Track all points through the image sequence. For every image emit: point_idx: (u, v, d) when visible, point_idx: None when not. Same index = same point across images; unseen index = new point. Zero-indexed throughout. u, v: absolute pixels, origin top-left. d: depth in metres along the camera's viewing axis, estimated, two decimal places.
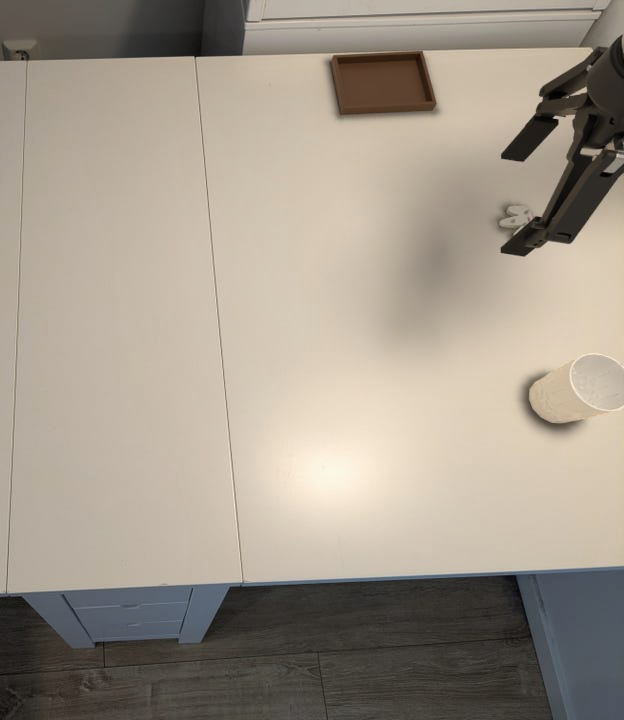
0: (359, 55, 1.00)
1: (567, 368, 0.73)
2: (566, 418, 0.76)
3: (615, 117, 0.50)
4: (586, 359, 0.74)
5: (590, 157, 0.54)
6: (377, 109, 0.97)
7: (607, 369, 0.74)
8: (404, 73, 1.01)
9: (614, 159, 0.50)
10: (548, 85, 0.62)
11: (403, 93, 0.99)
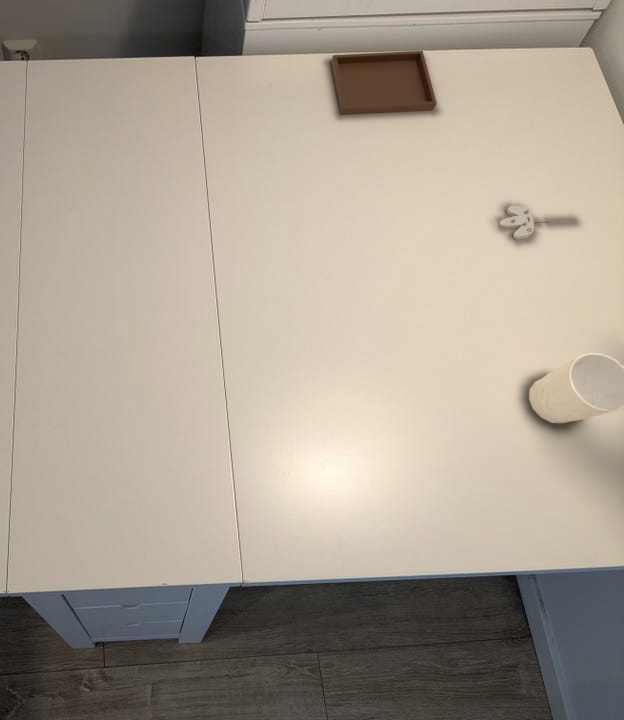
0: (359, 55, 1.00)
1: (567, 368, 0.73)
2: (566, 418, 0.76)
3: None
4: (586, 359, 0.74)
5: None
6: (377, 109, 0.97)
7: (608, 369, 0.74)
8: (404, 73, 1.01)
9: None
10: None
11: (403, 93, 0.99)
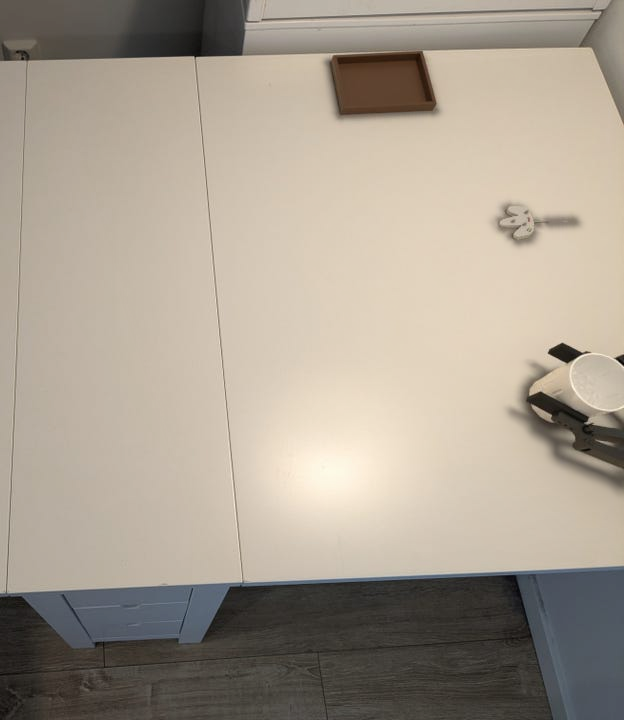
0: (359, 55, 1.00)
1: (567, 368, 0.73)
2: None
3: None
4: (586, 359, 0.74)
5: None
6: (377, 109, 0.97)
7: (608, 369, 0.74)
8: (404, 73, 1.01)
9: None
10: None
11: (403, 93, 0.99)
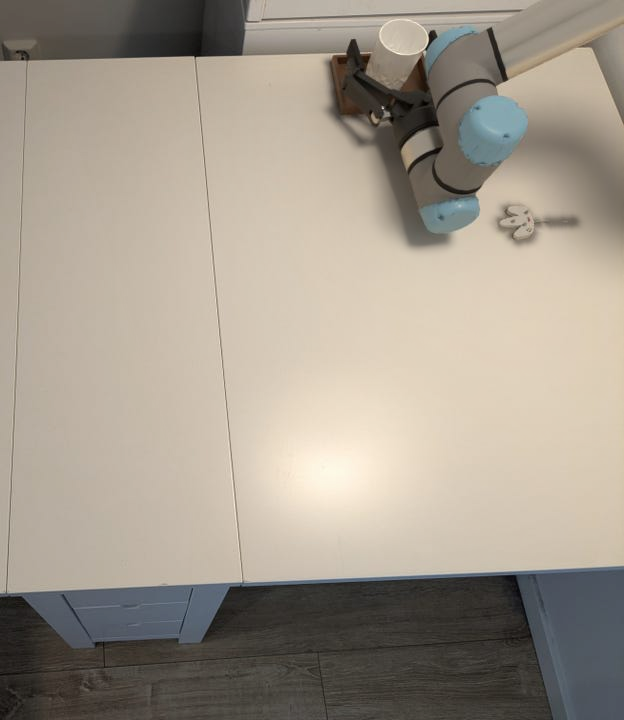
0: None
1: None
2: (370, 73, 0.96)
3: None
4: (415, 35, 0.93)
5: None
6: None
7: (421, 49, 0.92)
8: None
9: None
10: (346, 93, 0.93)
11: None
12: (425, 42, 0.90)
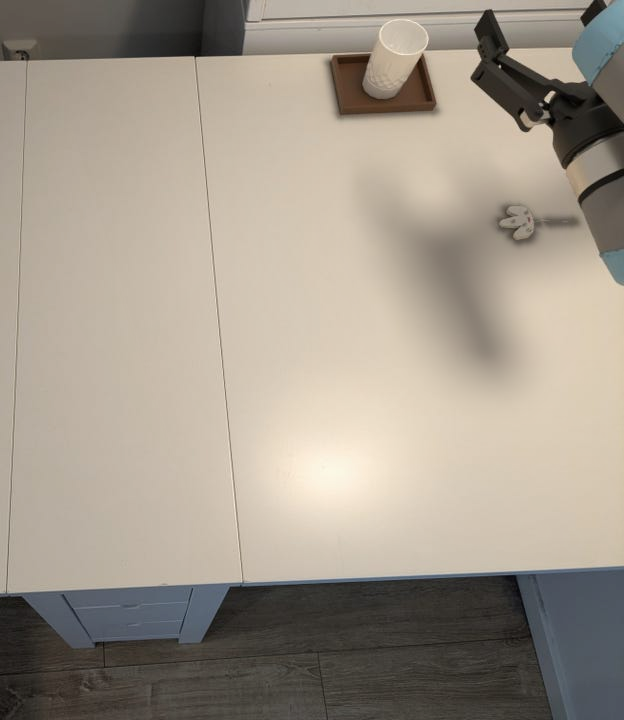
0: (359, 55, 1.00)
1: None
2: (370, 73, 0.96)
3: None
4: (415, 35, 0.93)
5: None
6: (377, 109, 0.97)
7: (421, 49, 0.92)
8: None
9: None
10: (481, 85, 0.67)
11: (403, 93, 0.99)
12: (425, 42, 0.90)
